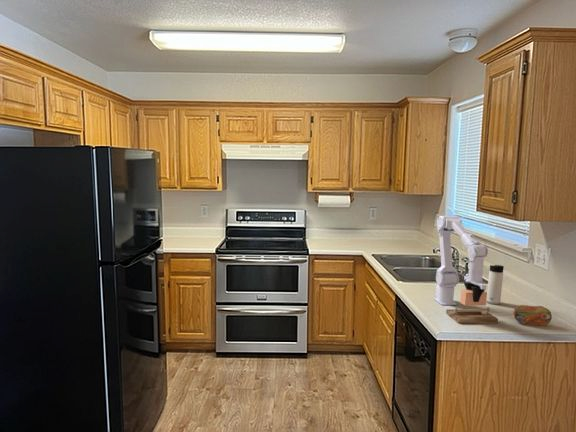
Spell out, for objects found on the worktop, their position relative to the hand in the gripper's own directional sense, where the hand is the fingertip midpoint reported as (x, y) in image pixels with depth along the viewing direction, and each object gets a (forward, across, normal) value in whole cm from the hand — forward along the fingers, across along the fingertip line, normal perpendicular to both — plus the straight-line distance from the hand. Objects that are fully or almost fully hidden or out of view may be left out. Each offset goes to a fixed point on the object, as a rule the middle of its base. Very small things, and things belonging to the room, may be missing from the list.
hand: (473, 299), depth 185 cm
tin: (+9, +8, +24) cm, 26 cm away
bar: (+2, 0, 0) cm, 2 cm away
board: (+9, 0, 0) cm, 9 cm away
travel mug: (+9, -20, +23) cm, 31 cm away
